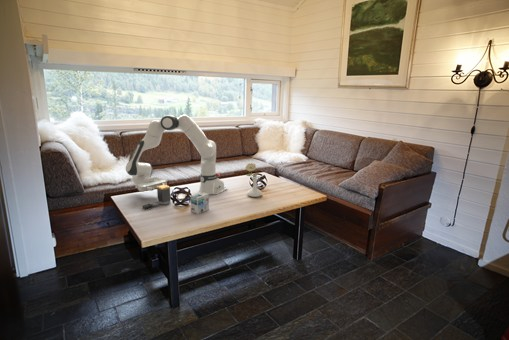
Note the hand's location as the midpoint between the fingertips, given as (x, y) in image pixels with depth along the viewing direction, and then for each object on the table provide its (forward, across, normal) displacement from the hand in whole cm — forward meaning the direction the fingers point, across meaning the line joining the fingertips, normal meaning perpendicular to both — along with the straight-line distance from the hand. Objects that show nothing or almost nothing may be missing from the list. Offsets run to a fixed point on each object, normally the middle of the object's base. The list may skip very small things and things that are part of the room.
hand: (158, 187), depth 208 cm
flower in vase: (+39, +55, +10) cm, 68 cm away
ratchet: (+6, -5, +10) cm, 12 cm away
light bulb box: (+33, +9, +10) cm, 35 cm away
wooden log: (+6, 0, +8) cm, 10 cm away
